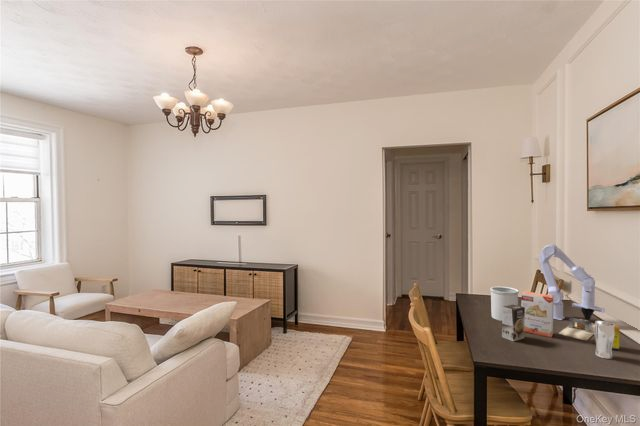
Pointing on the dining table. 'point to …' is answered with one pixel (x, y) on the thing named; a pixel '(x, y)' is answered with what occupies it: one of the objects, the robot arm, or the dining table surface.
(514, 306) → the coffee box
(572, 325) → the housing
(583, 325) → the plug
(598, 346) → the beer glass
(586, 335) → the board
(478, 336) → the dining table surface
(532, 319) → the cracker box
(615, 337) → the supplement box
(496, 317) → the utensil holder
